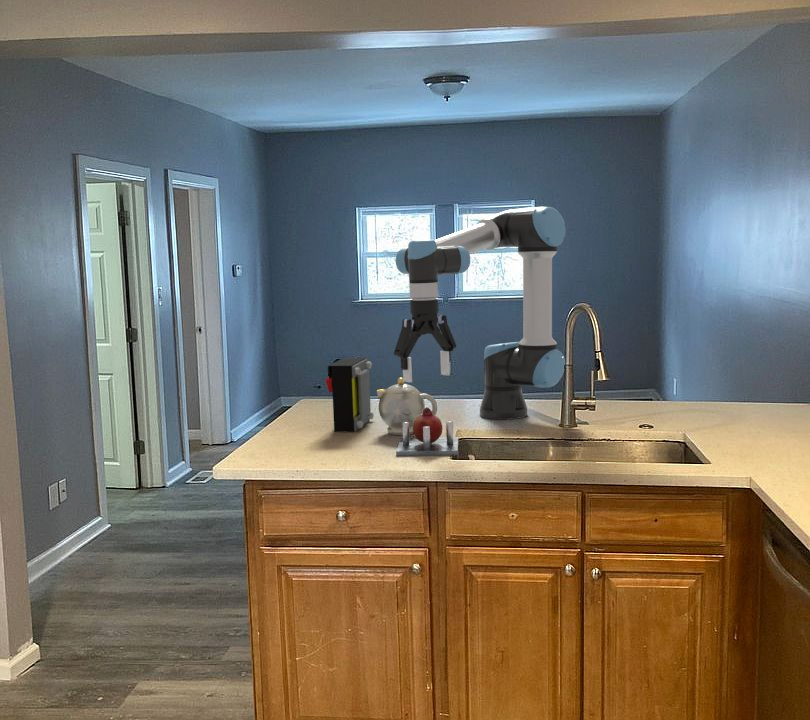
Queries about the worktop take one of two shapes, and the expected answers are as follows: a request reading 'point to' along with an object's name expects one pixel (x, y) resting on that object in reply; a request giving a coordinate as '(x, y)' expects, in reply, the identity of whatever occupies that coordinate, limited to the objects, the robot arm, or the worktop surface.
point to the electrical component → (350, 393)
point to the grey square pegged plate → (427, 443)
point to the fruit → (427, 420)
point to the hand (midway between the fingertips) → (426, 378)
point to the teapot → (402, 406)
